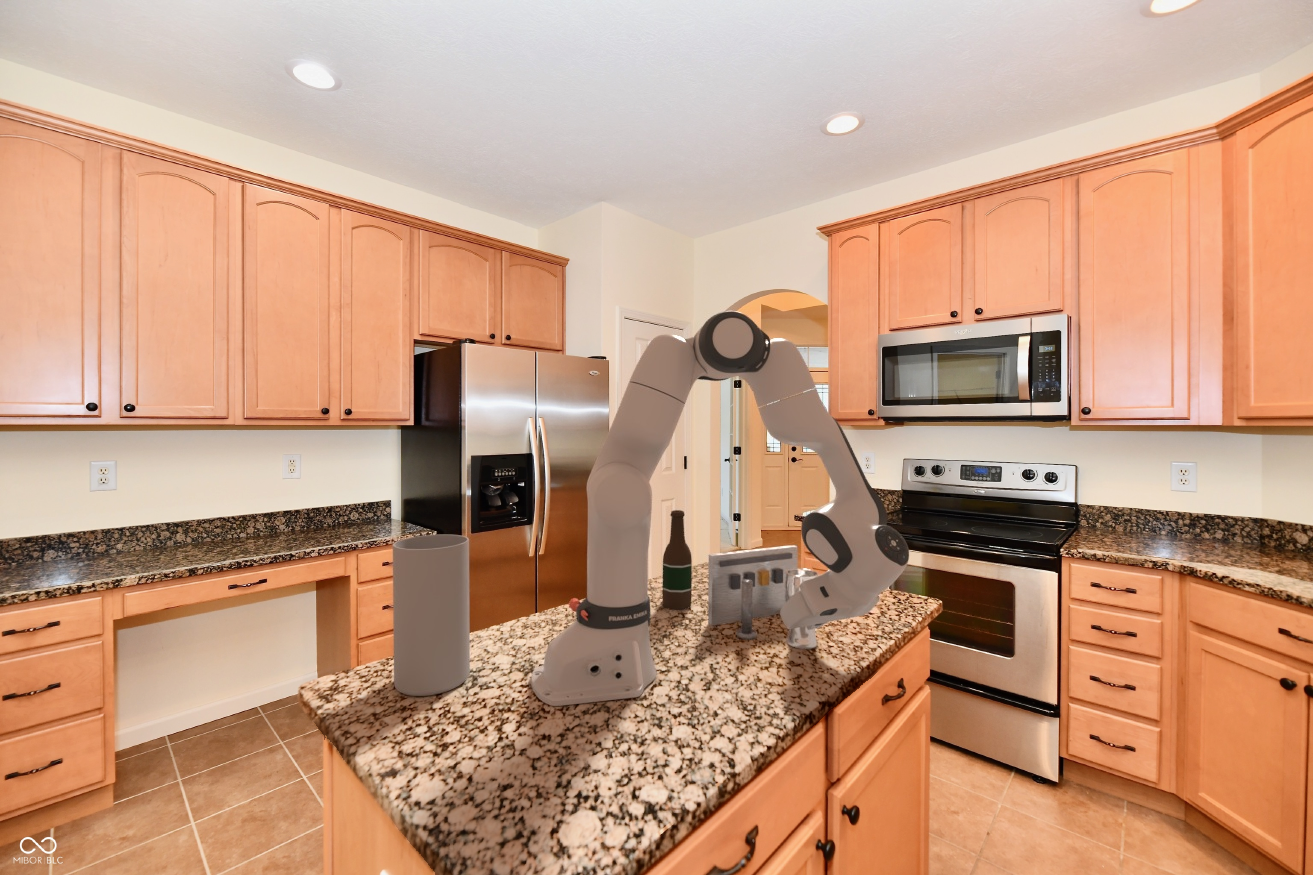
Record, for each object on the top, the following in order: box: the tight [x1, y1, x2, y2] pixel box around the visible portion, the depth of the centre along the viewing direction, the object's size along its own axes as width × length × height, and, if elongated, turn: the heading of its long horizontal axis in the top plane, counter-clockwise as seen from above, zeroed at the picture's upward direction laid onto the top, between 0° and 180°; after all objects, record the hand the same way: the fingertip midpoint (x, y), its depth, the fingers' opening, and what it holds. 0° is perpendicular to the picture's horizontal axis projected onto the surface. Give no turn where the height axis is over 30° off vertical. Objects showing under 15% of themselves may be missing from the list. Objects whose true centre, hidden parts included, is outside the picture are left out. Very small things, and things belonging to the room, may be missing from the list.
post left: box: [736, 579, 758, 641], centre depth 119 cm, size 4×4×12 cm
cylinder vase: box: [392, 534, 471, 697], centre depth 98 cm, size 12×12×25 cm
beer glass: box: [785, 568, 819, 650], centre depth 115 cm, size 7×7×15 cm
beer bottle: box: [662, 509, 693, 611], centre depth 139 cm, size 8×8×24 cm
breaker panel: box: [707, 544, 799, 627], centre depth 130 cm, size 24×3×16 cm, turn 114°
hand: (811, 625), depth 112 cm, fingers closed, pressing on beer glass
